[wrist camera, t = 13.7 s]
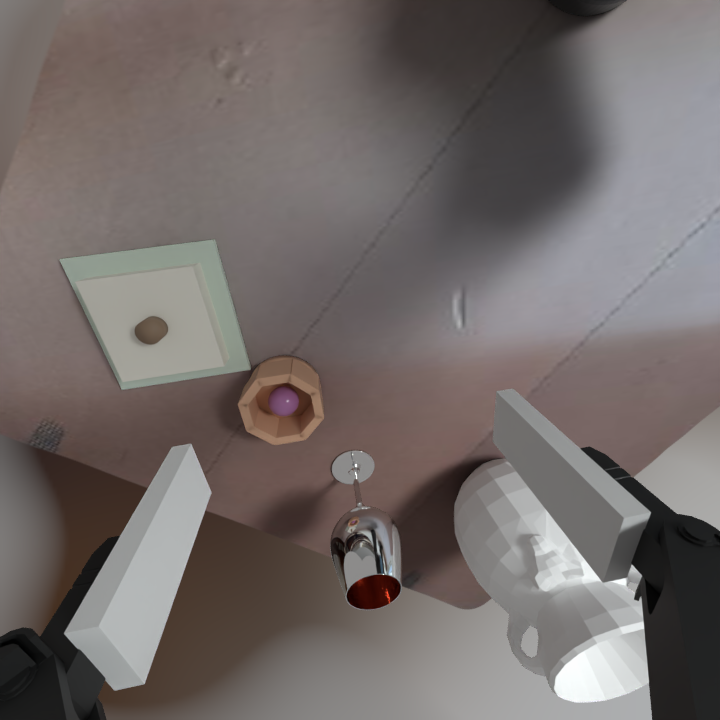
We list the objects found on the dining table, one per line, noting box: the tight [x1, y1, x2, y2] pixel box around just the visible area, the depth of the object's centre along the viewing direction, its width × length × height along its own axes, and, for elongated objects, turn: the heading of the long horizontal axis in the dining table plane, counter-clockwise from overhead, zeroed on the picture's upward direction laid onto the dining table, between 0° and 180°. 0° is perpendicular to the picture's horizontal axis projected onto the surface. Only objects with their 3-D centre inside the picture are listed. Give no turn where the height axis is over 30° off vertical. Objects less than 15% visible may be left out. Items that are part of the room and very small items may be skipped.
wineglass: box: [330, 450, 402, 610], centre depth 42 cm, size 8×8×18 cm
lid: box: [75, 263, 229, 382], centre depth 35 cm, size 11×11×4 cm
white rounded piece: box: [454, 458, 649, 702], centre depth 43 cm, size 19×18×25 cm
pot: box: [238, 355, 324, 445], centre depth 40 cm, size 9×9×6 cm
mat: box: [59, 239, 251, 390], centre depth 37 cm, size 15×15×1 cm
